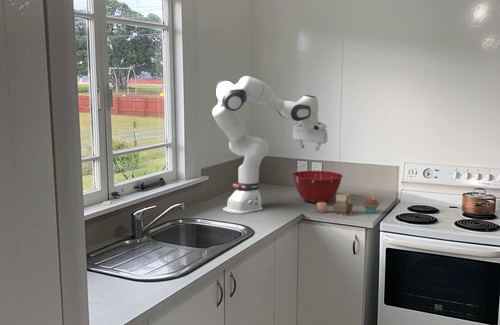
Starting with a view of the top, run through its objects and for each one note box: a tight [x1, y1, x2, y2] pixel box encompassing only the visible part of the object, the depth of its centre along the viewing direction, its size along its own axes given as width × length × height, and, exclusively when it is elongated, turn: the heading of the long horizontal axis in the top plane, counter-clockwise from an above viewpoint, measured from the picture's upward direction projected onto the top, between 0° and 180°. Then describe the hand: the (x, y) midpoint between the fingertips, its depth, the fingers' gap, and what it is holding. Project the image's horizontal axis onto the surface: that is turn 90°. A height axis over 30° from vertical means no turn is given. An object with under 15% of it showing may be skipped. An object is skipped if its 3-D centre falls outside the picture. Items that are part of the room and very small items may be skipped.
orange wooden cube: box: [316, 202, 328, 214], centre depth 272 cm, size 5×5×5 cm
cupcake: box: [361, 190, 380, 214], centre depth 271 cm, size 9×8×12 cm
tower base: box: [333, 203, 354, 216], centre depth 269 cm, size 7×7×5 cm
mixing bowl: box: [292, 170, 343, 204], centre depth 297 cm, size 28×28×15 cm
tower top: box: [335, 192, 352, 206], centre depth 268 cm, size 6×6×5 cm
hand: (309, 149), depth 285 cm, fingers open, 8 cm apart
